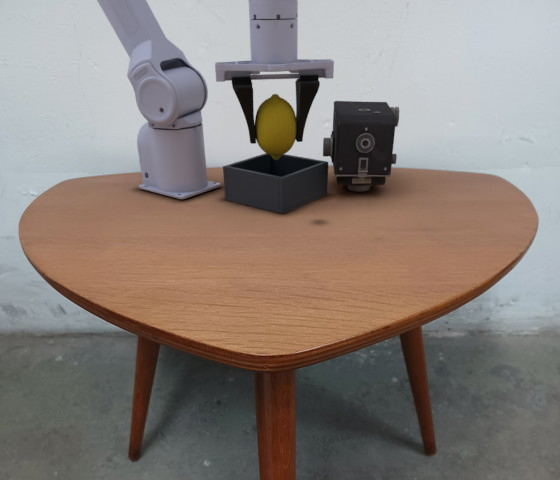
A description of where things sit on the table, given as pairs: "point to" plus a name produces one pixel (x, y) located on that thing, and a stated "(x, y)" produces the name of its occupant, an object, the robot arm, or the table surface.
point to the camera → (362, 143)
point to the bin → (275, 182)
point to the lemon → (275, 126)
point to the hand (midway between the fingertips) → (275, 141)
